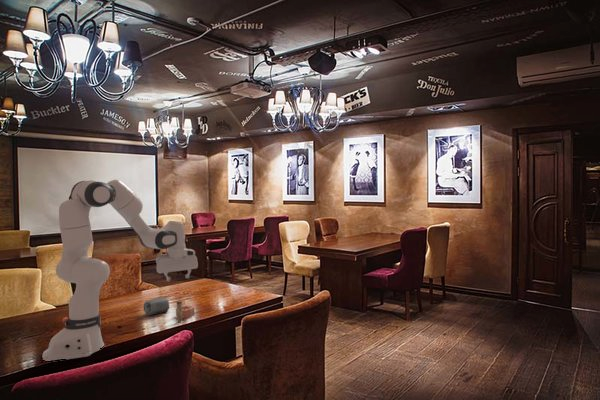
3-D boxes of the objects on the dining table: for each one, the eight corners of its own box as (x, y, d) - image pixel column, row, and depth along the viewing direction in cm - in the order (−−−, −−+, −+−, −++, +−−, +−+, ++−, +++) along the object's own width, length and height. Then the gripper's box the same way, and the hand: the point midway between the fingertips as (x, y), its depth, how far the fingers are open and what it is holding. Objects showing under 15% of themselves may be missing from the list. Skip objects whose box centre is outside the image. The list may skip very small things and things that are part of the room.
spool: (146, 312, 206) (147, 293, 211) (140, 317, 212) (141, 298, 217) (172, 313, 214) (172, 295, 219) (165, 318, 220) (166, 300, 225)
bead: (179, 319, 205) (179, 311, 205) (174, 314, 212) (174, 307, 212) (196, 315, 209) (195, 308, 209) (191, 311, 217) (191, 304, 217)
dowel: (178, 322, 200) (177, 302, 199) (176, 321, 202) (176, 301, 202) (182, 321, 201) (182, 301, 201) (181, 320, 203) (181, 300, 203)
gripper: (156, 256, 193) (158, 284, 194) (198, 251, 203) (199, 277, 204) (154, 254, 199) (155, 281, 199) (195, 249, 209) (196, 275, 209)
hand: (178, 279), depth 202 cm, fingers open, 8 cm apart
